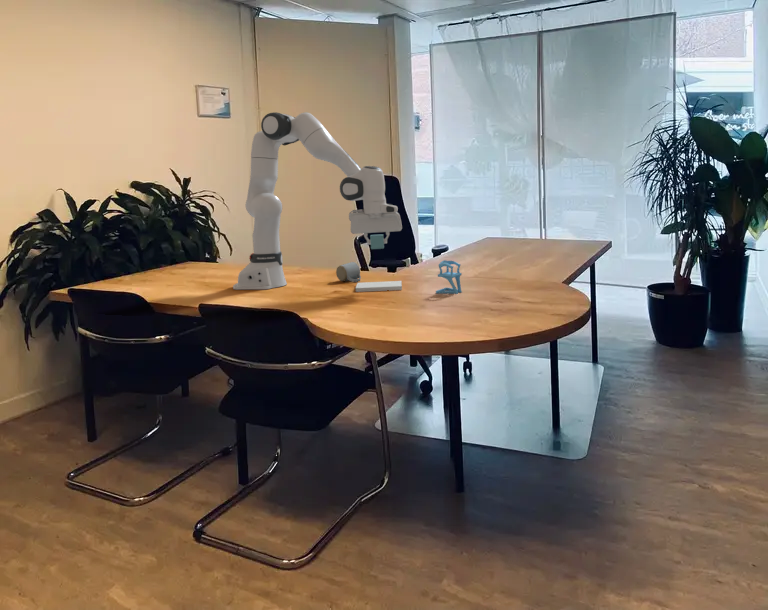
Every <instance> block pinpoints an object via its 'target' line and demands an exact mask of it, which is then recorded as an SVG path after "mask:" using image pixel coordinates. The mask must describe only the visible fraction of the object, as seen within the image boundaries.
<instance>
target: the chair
mask: <svg viewBox="0 0 768 610" xmlns="http://www.w3.org/2000/svg"><path fill="white" fill-rule="evenodd" d="M453 265H455V266H456V267H457V270H456V272H454V271H453V269H454V266H453ZM444 267H446V272H443V269H442V268H444ZM460 268H461V263H459V262H457V261H454V260H446V259H445V260H442V261H440V262H439V264H438V269H439V273H438V274H437V277H438V278H444V279H446V280H447V281H448V282H449V284H450V286H451V287H443V288H441V289H437V290H435V294H444V295H445V294H449V295H451V294H452V295H459V294H460V293H462V286H461V276H462V275H463V274H462V272H460ZM449 269H450V270H449ZM453 278H454V279H455V282H456V285H455V283H454V281H453ZM456 286H457V287H456Z"/></svg>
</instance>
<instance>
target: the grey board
mask: <svg viewBox="0 0 768 610" xmlns="http://www.w3.org/2000/svg"><path fill="white" fill-rule="evenodd" d="M402 282H403V281H402V280H394V281H393V280H392V281H391V280H389V281H370V282H369V281H368V282H367V281H366V282H356V283H357V284H356V286H355V293H359V292H360V293H361V292H362V293H363V292H365V293H366V292H386V291H387V290H389V291H402V290H403V285H402V284H403V283H402Z"/></svg>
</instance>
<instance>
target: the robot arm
mask: <svg viewBox="0 0 768 610" xmlns="http://www.w3.org/2000/svg"><path fill="white" fill-rule="evenodd" d="M260 128H261V131H257V132H256V133H255V134H254V135H253V137H252V138H253V139H252V143H251V150H250V176H249V178H250V179H249V184H248V189H247V197H246V201H245V210H246V211H247V213H248V215H250V217H252V218H253V219H254V224H253V230H252V231H253V232H252V243H253V252H252V253H250V255H249V261H250V263H248V264H247V265H246V266H245V267H244V268H243V269H242V270H240V271H239V273H238V276H237V283H234V284H233V286H232V288H233V290H269V289H273V288H275V289H276V288H279V287H280V288H281V287H283V286H286V285H287V284H288V283H287V280H286V277H285V273H284V269H283V268H284V267H283V263H284V262H283V254H282V253H283V252H282V251H281V243H280V242H281V241H280V240H281V239H280V227H281V215H282V212H283V203H282V201H281V200H280V198H279V197H277V196H276V194H275V190H276V184H277V181H278V179H279V177H278V176H279V149H280V147H281V146H287V145H291V144H294V143H297V142H301V144H302V146H304V148H305V149H306V150H307V152H308V153H309V154H310V155H311V156H312V157H314V158H315V159H317V160H321V161H324V162H327V163H331V164H333V165H334V166H336V167H338V168H339V170H341V172H343V173H344V175H346V177H345V178H343V179H342V180H341V181H340V184H339V193H340V195H341V197H342V198H343V199H345V200H346V201H349V202H350V201H351V202H354V201H355V202H356V201H362V203H363V208H362V209H352V210H351V211H350V212H349V214H348V219H349V221H350V232H351V234H352V235H356V234H357V235H358V234H359V235H360V234H363V237H364V239H365V240H366V245H368V246H369V245H370V246H371V241H370V239H369V237H368V234H373V233H385V235H386V237H385V238H384V239H383V241H384V245H385V244H388V239H389V237H390V235H391V234H390V233H391V232H393V233H394V232H401V231H402V229H403V225H402V219H401V215H400V213H399V212H398V209H399V208H398V206H397V205H393V204H392V203H387V198H386V195H385V193H386V181H385V175H384V171H383V169H382V168H380V167H379V166H374V165H373V166H371V165H365V166H363V167H362V168H361V166H360V165H359V164H358V163H357V162H356V161H355V160H354V159H353V158H352V157H351V156H350V154H349V153H348V152H347V151H346V150H345V149H344V148H343V147H342V146H341V145H340V144H339V143H338V142H337V141H336V139H335V138H334V137H333V136H332V135H331V133H330V132H329V131H328V130H327V129H326V127H325V126H324V125H323V124H322V122H321V121H320V120H319V119H318V118H317V117H316V116H314V115H313V114H312V113H311V112H301V113H299V114H298V115H297V116H292V115H289V114H287V113H280V112H275V111H274V112H270V113H269V112H268V113H267V114H265V116H264V117H263V118H262V119H261V123H260Z"/></svg>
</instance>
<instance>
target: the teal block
mask: <svg viewBox="0 0 768 610" xmlns="http://www.w3.org/2000/svg"><path fill="white" fill-rule="evenodd" d="M369 237H370V239H369V240H370V241H371V244H370V249H371V250H381V249H382V250H383V249H385V244H384V241H383V239H385V238H384V234H370V235H369Z"/></svg>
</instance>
